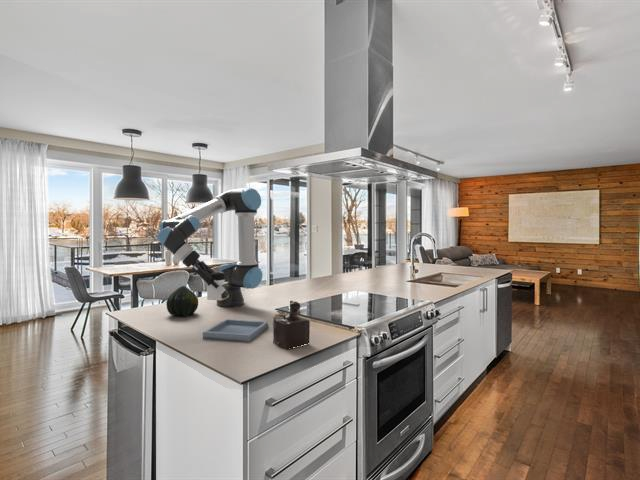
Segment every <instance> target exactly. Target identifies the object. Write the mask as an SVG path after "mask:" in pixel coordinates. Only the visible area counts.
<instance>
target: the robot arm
mask: <svg viewBox="0 0 640 480" xmlns="http://www.w3.org/2000/svg"><path fill="white" fill-rule="evenodd" d="M261 205H262V198H261V194H260V193H259V192H258V191H257V189H255V188H251V187H250V188H249V187H243V188H233V189H229V190H227V191H225V192H222V193H220V194H218V195H216V196H214V197H213V199H212V200H210V201H207V202H205V203H203V204H201V205H199V206H197V207H194V208H192V209H189V210H188V211H186V212H183V213H181V214H179V215H177V216H175V217H172V218H169V219H163V220H162V221H161V222H160V223H159V224H158V229H159V232H158V233H157V236H156V239H157V240H158V242H159V243H160V244H161V245H162V246H163V247H164V248H165V249H167V250H168V251H169V252H170V253H172V255H174V256H175V259H177V260H179V261H180V262H182V264H183V265H185V266H186V267H187V268H190V267H191V266H192V267H191V269H192V270H193V271H194V272H195V273H196V274H197V275H198V276H199V277H200V278H201V279H202V280H203V281H204V282H205V283H206V286H207V285H212V286H213V287H214V288H215V289H216V290H217V291H218V292H219V293H220V294H222V293H223V292H224V291H225V290H226V289H225V288H224V287H222V286H221V285H220V284H219V283H218V282H217V281H216V280H214V279H213V278H212V277H211V273H213V272H216V271H215V270H214V269H212V268H211V267H210V266H209V265H207V263H205V261H204V260H199V258H200V257H201V255H200V253H198V251H196V250H194V248H193V247H192V246H191V245H190V244H188V242H187V241H186V240H188V238H190V237H191V236H192V235H194V234H195V233H196V232H197V231H198V230H200V229H201V225H202V224H201V222H203V221H206V220H207V219H209V218H212V217H214V216H215V215H216V216H217V215H218V214H225V213H227V212H229V211H234V213H235V215H236V216H237V221H238V222H237V223H238V224H237V228H238V229H237V231H238V232H237V233H238V261H237V262H236V263H226V264H221V265H220V266H219V271H218V272H223V273H224V275H225V281H224V282H228V287H229V297H228V298H226V299H224V300H216V306H218V307H223V308H227V307H228V308H230V307H238V306H242V305H244V304H245V298H244V295H243V293H242V289H243V288H244V289H252V290H253V289H256V288H257V287H259V285H260V284H261V283H262V280H263V271H262V269H261V268H260V267H259V263H258V262H257V261H256V248H255V247H256V246H255V243H256V241H255V239H256V237H255V216H256V215H257V214H258V209H260V207H261Z"/></svg>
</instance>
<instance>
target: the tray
mask: <svg viewBox="0 0 640 480" xmlns="http://www.w3.org/2000/svg"><path fill="white" fill-rule="evenodd" d="M268 328H269V321H257V320H243V319H229V318H226V319H224V320H223V321H220V322H218V323H217V324H215V325H213V326H210V327H209V328H208V329H206V330H204V331H202V339H205V340H217V341H219V340H220V341H231V342H232V341H233V342H244V343H246V342H247V343H250V342H252V341H253V340H254V339H256V338H257V337H258V336H260V335H261V334H262V333H264V331H265V332H266V330H267V329H268Z"/></svg>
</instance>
